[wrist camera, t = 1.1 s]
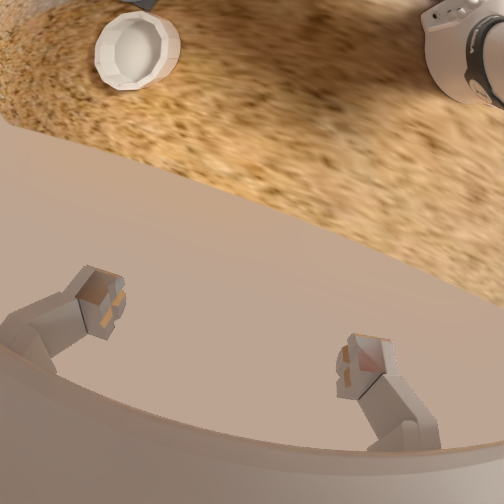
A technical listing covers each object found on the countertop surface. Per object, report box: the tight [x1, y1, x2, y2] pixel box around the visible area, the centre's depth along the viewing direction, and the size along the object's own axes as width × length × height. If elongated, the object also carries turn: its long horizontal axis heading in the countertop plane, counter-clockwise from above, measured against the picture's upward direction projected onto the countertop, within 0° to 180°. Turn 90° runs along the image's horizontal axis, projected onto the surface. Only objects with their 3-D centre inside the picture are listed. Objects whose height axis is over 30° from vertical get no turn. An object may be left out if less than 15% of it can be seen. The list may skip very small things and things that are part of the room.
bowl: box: [95, 11, 181, 90], centre depth 36 cm, size 12×12×5 cm
